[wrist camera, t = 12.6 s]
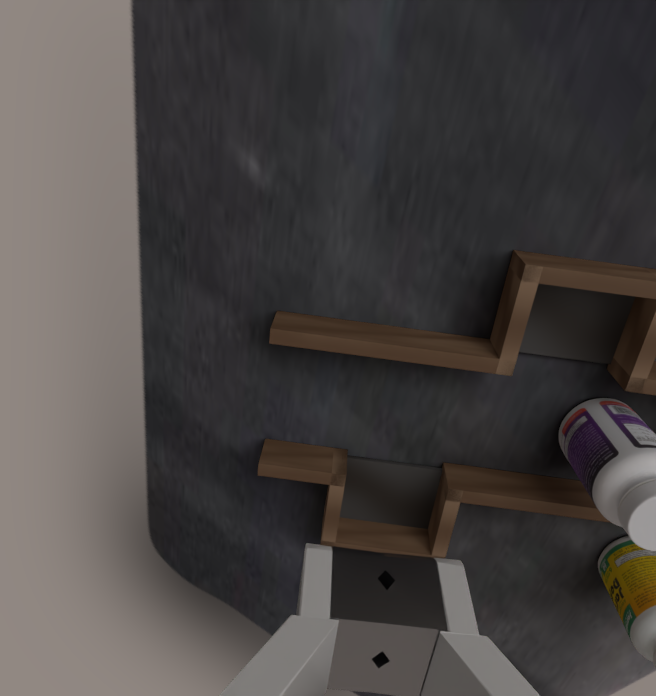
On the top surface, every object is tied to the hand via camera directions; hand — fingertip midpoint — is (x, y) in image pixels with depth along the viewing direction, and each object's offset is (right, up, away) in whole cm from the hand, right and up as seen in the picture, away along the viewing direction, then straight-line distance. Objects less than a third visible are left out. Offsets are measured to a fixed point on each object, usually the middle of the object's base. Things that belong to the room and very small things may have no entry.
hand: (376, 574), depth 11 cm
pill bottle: (+18, -1, +29) cm, 34 cm away
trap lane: (+11, 0, +29) cm, 31 cm away
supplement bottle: (+22, -12, +34) cm, 43 cm away
